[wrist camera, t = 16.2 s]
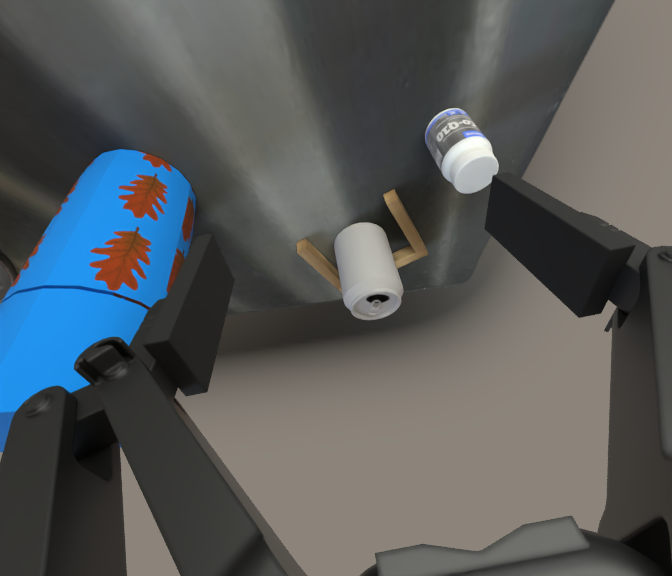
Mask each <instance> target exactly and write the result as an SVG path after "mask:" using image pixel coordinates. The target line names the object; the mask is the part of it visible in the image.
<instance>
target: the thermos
mask: <svg viewBox="0 0 672 576" xmlns="http://www.w3.org/2000/svg"><path fill="white" fill-rule="evenodd" d="M195 206H196V197H195V195H194V192H193V190H192V187H191V185H190V183H189V182H188V181H187V180H186V179H185V178H184V176H183V175H182V174H181V173H180V172H179V171H178V170H177V169H175V168H174V167H172V166H171V165H170V164H168V163H167V162H165V161H164V160H162V159H160V158H157V157H155V156H152V155H150V154H147V153H144V152H142V151H134V150H125V149H118V150H114V151H109V152H105V153H102V154H101V155H100V156H98V157H97V158H96V159H95V160H93V161H92V162H91V163H90V165H89V166H88V167H87V168H86V170H85V171H84V172H83V174H82V175H81V176H80V177H79V179H78V180H77V181H76V183H75V184H74V186H73V187H72V189H71V190H70V192H69V194H68V195H67V197H66V198H65V200H64V202H63V203H62V205H61V207H60V208H59V210H58V211H57V213H56V215H55V216H54V218H53V219H52V221H51V223H50V224H49V226H48V228H47V229H46V231H45V232H44V234H43V236H42V237H41V239H40V240H39V242H38V244H37V245H36V247H35V248H34V250H33V252H32V253H31V255H30V257H29V258H28V260H27V261H26V263H25V265H24V266H23V268H22V269H21V271H20V273H19V274H18V276H17V278H16V279H15V281H14V282H13V284H12V286H11V287H10V289H9V290H8V292H7V294H6V295H5V297H4V298H3V300H2V303H1V304H0V452H3V451H4V447H5V443H6V439H7V436H8V432H9V428H10V424H11V420H12V418H13V416H14V414H15V412H16V411H17V409H18V408H19V407H20V406H21V405H22V404H23V402H25V401H26V400H27V399H29V397H31V396H32V395H34V394H36V393H37V392H39V391H41V390H43V389H45V388H48V387H51V386H58V385H59V386H61V387H63V388H65V389H66V390H67V391H69V392H70V393H71V392H74V391H76V390H78V389H81V388H83V387H85V386H87V385H90V383H89V382H88V381H86V380H85V379H84V378H83V377H82V376H81V375H80V374H78V373H77V372H76V371H75V370H74V363H75V361H76V360H77V358H78V356H79V355H80V354H81V353H82V352H83V351H84V350H85V349H87V348H88V347H90V346H91V345H92V344H94V343H96V342H98V341H100V340H102V339H105V338H108V337H120V338H121V339H123V340H124V341H125V343H126V344H127V345H128V346H129V345H130V343H131V341H132V339H133V337H134V336H135V334H136V332H137V330H138V329H139V326H140V325H141V323H142V321H144V317H145V315H146V313H147V312H148V310H149V309H150V308H151V307H152V306H153V305H154V304H155V303H156V302H157V301H158V300H159V299H163V298H166V297H167V295H168V293H169V291H170V289H171V287H172V285H173V283H174V281H175V279H176V277H177V275H178V273H179V271H180V269H181V267H182V265H183V263H184V260H185V258H186V256H187V254H188V252H189V247H190V243H191V238H192V233H193V225H194V217H195ZM120 447H121V445H120Z"/></svg>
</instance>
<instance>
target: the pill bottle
mask: <svg viewBox="0 0 672 576" xmlns="http://www.w3.org/2000/svg"><path fill="white" fill-rule="evenodd" d="M425 142H426V145H427V147H428V149H429V151H430V153H431V154H432V156H433V158H434V160H435V162H436V163H437V165H438V167H439V169H440V171H441V172H442V174H443V176H444V177H445V178H446V179H447V180H448V181H450V182H452V184H453V185H454V187H455V188H456V190H457V191H459V192H461V193H465V194H468V193H474V192H477V191H479V190H481V189H483V188H485V187H486V186H487V185H488V184H490V183H491V182H492V176H493V175H496V174H497V172H498V167H499V165H498V161H497V159H496V158H495V157H494V155H493V153H492V147H491V144H490V142H489V141H488V140H487V138H486V137H485V136H484V135H483V134H482V132H481V131H480V130H479V129H478V127H477V126H476V125H475V124H474V122H473V121H472V120H471V118H470V117H469V116H468V115H467V113H466V112H464V111H463V110H461V109H458V108H451V109H447V110H444V111H442V112H441V113H439V114H438V115H436V116H435V117H434V118H433V119H432V120H431V122H430V123H429V125H428V127H427V129H426V132H425Z"/></svg>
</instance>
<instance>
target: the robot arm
mask: <svg viewBox="0 0 672 576" xmlns="http://www.w3.org/2000/svg"><path fill="white" fill-rule="evenodd" d="M485 230H486V231H488V232H489V233H490V234H491V235H492V236H493V237H494V238H495V239H496V240H497V241H498V242H499V243H500V244H501V245H502V246H503V247H504V248H506V249H507V250H508V251H509V252H510V253H511V254H512V255H513V256H514V257H515V258H516V259H517V260H518V261H519V262H520V263H522V264H523V265H524V266H525V267H526V268H527V269H528V270H529V271H530V272H531V273H532V274H533V275H534V276H535V277H536V278H537V279H538V280H539V281H541V282H542V283H543V284H544V285H545V286H546V287H547V288H548V289H549V290H550V291H551V292H552V293H553V294H554V295H555V296H557V298H559V299H560V300H561V301H562V302H563V303H564V304H565V305H566V306H567V307H568V308H569V309H570V310H571V311H572V312H573V313H574V314H576V315H577V316H578V317H579V318H580V317H585V316H590V315H595V314H600V313H601V312H602V310H603V309H604V306H605V305H606V302H607V301H608V300H610V301H611V302H612V303H613V304H614V305H616V306H617V308H616V310H615V311H614V313H613V315H612V317H611V319H610V320H609V322H608V324H607V326H606V328H605V330H604V331H606V332H608V331H609V329H610V328H612V351H611V352H612V353H611V383H610V413H609V415H610V416H609V445H608V475H607V477H608V479H607V501H606V506H605V510H604V513H603V515H602V518H601V520H600V524H599V528H598V533H596V532H592V531H588V530H584V529H580V528H579V527H578V525H577V524H576V522H575V520H574V519H573V517H572V516H567V517H562V518H556V519H551V520H546V521H541V522H536V523H530V524H525V525H522V526H521V527H519V528H517V529H516V530H514V531H513V532H511V533H509V534H508V535H506V536H504V537H503V538H501V539H499V540H498V541H496V542H495V543H493V544H491V545H490V546H488V547H487V548H485V549H483V550H481V551H469V550H462V549H455V548H447V547H441V546H433V545H426V544H420V545H415V546H410V547H404V548H399V549H395V550H389V551H384V552H379V553H375V557H376V564H375V565H373V566H371V567H370V568H368V569H367V570H366V571H364V572H363V573H362V574H361V575H360V576H672V246H659V247H653V248H652V247H650V246H648V245H646V244H645V243H643V242H641V241H639V240H637V239H636V238H633V237H632V236H630V235H628V234H627V233H625V232H623V231H621V230H620V231H619V230H618V228H616V227H614V226H612V225H609V224H608V223H607V222H605V221H603V220H602V219H600V218H598V217H596V216H592V215H589V214H586V213H582V212H578V211H576V210H575V209H573V208H571V207H569V206H567V205H566V204H564V203H562V202H561V201H559V200H557V199H555V198H553V197H552V196H550V195H549V194H547V193H545V192H543V191H541V190H540V189H538V188H536V187H535V186H533V185H531V184H529V183H527V182H526V181H524V180H522V179H521V178H519V177H517V176H516V175H514V174H512V173H510V172H506V173H501V174H496V175H493V176H492V183H491V190H490V196H489V203H488V209H487V216H486V223H485ZM16 278H17V274H16V271H15V268H14V267H13V265H12V264H11V262H10V261H9V260H8V259H7V258H6V257H5V256H4V255H3V254H2V253H0V300H2V299H3V298H4V297H5V295H6V294H7V292H8V290H9V289H10V287H11V286H12V284H13V282H14V281H15V279H16ZM233 284H234V278H233V276H232V274H231V271H230V269H229V267H228V265H227V263H226V261H225V259H224V257H223V254H222V252H221V250H220V248H219V246H218V244H217V242H216V240H215V237H214V235H213V233H211V234H207V235H202V236H197V237H196V238H195V240H194V242H193V244H192V246H191V248H190V250H189V252H188V254H187V256H186V258H185V260H184V263H183V265H182V267H181V269H180V271H179V273H178V275H177V277H176V279H175V281H174V283H173V285H172V287H171V289H170V291H169V293H168V295H167V297H166V298H163V299H159V300H158V301H157V302H156V303H155V304H154V305H153V306H152V307H151V308H150V309H149V310H148V312H147V313H146V315H145V317H144V321H142V323H141V325H140V326H139V329H138V330H137V332H136V334H135V336H134V337H133V339H132V341H131V343H130V345H129V346H128V345H127V344H126V343H125V341H124V340H123V339H121V338H120V337H108V338H105V339H102V340H100V341H98V342H96V343H94V344H92V345H91V346H90V347H88V348H87V349H85V350H84V351H83V352H82V353H81V354H80V355H79V356H78V358H77V360H76V361H75V363H74V370H75V371H76V372H77V373H78V374H80V375H81V376H82V377H83V378H84V379H85V380H86V381H88V382H89V383H90V385H87V386H85V387H83V388H81V389H78V390H76V391H74V392H71V393H70V392H69V391H67V390H66V389H65V388H63V387H61V386H59V385H58V386H51V387H48V388H45V389H43V390H41V391H39V392H37V393H36V394H34V395H32V396H31V397H29V399H27V400H26V401H25V402H23V404H22V405H21V406H20V407H19V408H18V409H17V411H16V412H15V414H14V416H13V418H12V420H11V424H10V428H9V432H8V436H7V439H6V443H5V447H4V451H3V455H2V458H1V462H0V576H127V570H126V552H125V536H124V535H125V534H124V515H123V499H122V498H123V497H122V480H121V462H120V445H121V447H122V450H123V452H124V454H125V456H126V458H127V460H128V463H129V464H130V467H131V469H132V471H133V473H134V475H135V478H136V480H137V482H138V484H139V486H140V489H141V491H142V493H143V495H144V497H145V499H146V502H147V504H148V506H149V508H150V510H151V512H152V514H153V517H154V519H155V521H156V523H157V525H158V528H159V530H160V532H161V534H162V536H163V538H164V541H165V543H166V545H167V547H168V549H169V551H170V554H171V556H172V558H173V560H174V562H175V564H176V566H177V569H178V571H179V573H180V575H181V576H307V575H306V574H305V572H304V571H303V570H302V569H301V567H300V566H299V565H298V564H297V562H296V561H295V560H294V559H293V557H292V556H291V555H290V553H289V552H288V550H287V549H286V548H285V546H284V545H283V543H282V542H281V541H280V539H279V538H278V537H277V535H276V534H275V533H274V531H273V530H272V528H271V527H270V526H269V524H268V523H267V522H266V521H265V519H264V518H263V516H262V515H261V513H260V512H259V511H258V509H257V508H256V507H255V506H254V504H253V503H252V501H251V500H250V499H249V497H248V496H247V494H246V493H245V492H244V490H243V489H242V488H241V486H240V485H239V483H238V482H237V481H236V479H235V478H234V477H233V475H232V474H231V473H230V471H229V470H228V469H227V467H226V466H225V465H224V463H223V462H222V460H221V459H220V458H219V456H218V455H217V454H216V452H215V451H214V449H213V448H212V447H211V445H210V444H209V443H208V441H207V440H206V439H205V437H204V436H203V435H202V433H201V432H200V430H199V429H198V428H197V426H196V425H195V424H194V422H193V421H192V420H191V418H190V417H189V416H188V414H187V413H186V411H185V410H184V409H183V407H182V406H181V404H180V403H179V402H178V401H177V400H176V398H175V394H176V391H177V388H178V387H179V389H180V390H181V391H182V392H183V393H184V395H185V396H190V395H195V394H200V393H205V392H207V391H208V387H209V383H210V379H211V375H212V371H213V366H214V362H215V358H216V354H217V350H218V346H219V342H220V338H221V333H222V329H223V325H224V321H225V317H226V313H227V309H228V305H229V300H230V296H231V292H232V288H233Z"/></svg>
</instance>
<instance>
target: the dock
mask: <svg viewBox="0 0 672 576" xmlns="http://www.w3.org/2000/svg"><path fill="white" fill-rule="evenodd" d="M383 196H384V199H385V201H386V204H387V206H388V208H389V209H390V211H391V213H392V214H393V216H394V218H395V219H396V221H397V223H398V224H399V226H400V228H401V229H402V231H403V233H404V234H405V236H406V238H407V239H408V241H409V242H410V244H411V245H409V246H407V247H405V248H403V249H401V250H399V251H397V252H394V253H392V255H393V258H394V261H395V264H396V267H397V268H399V267H401V266H404V265H406V264H408V263H410V262H412V261H415V260H417V259H419V258H421V257H423V256H426V255H428V252H427V249H426V247H425V245H424V243H423V241H422V239H421V237H420V235H419V234H418V232H417V230H416V228H415V226H414V224H413V223H412V221H411V219H410V217H409V215H408V213H407V212H406V210H405V208H404V206H403V204H402V203H401V201H400V199H399V197H398V195H397V193H396V192H395V190H394V189H393V190H391V191H389V192H387V193H385V194H384V195H383ZM297 253H298V254H299V255H300V256H301V257H302V258H303V259H305V260H306V261H307V262H308V263H309V264H310V265H311V266H312V267H314V268H315V269H316V270H317V271H318V272H319V273H320V274H321V275H323V276H324V277H325V278H326V279H327V280H328V281H329V282H330V283H332V284H333V285H334V286H335V287H336V288H337V289H338V290H339V291H341V292H342V289H341V283H340V278H339V272H338V270H337V269H336V268H335V267H334V266H333V265H332V264H331V263H330V262H329V261H328V260H327V259H326V258H325V257H324V256H323V255H322V254H321V253H320V252H319V251H318V250H317V249H316V248H315V247H314V246H312V245H311V244H310V243H309V242H308V241H307V240H306V239H303V240H301V241H299V242H297Z"/></svg>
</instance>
